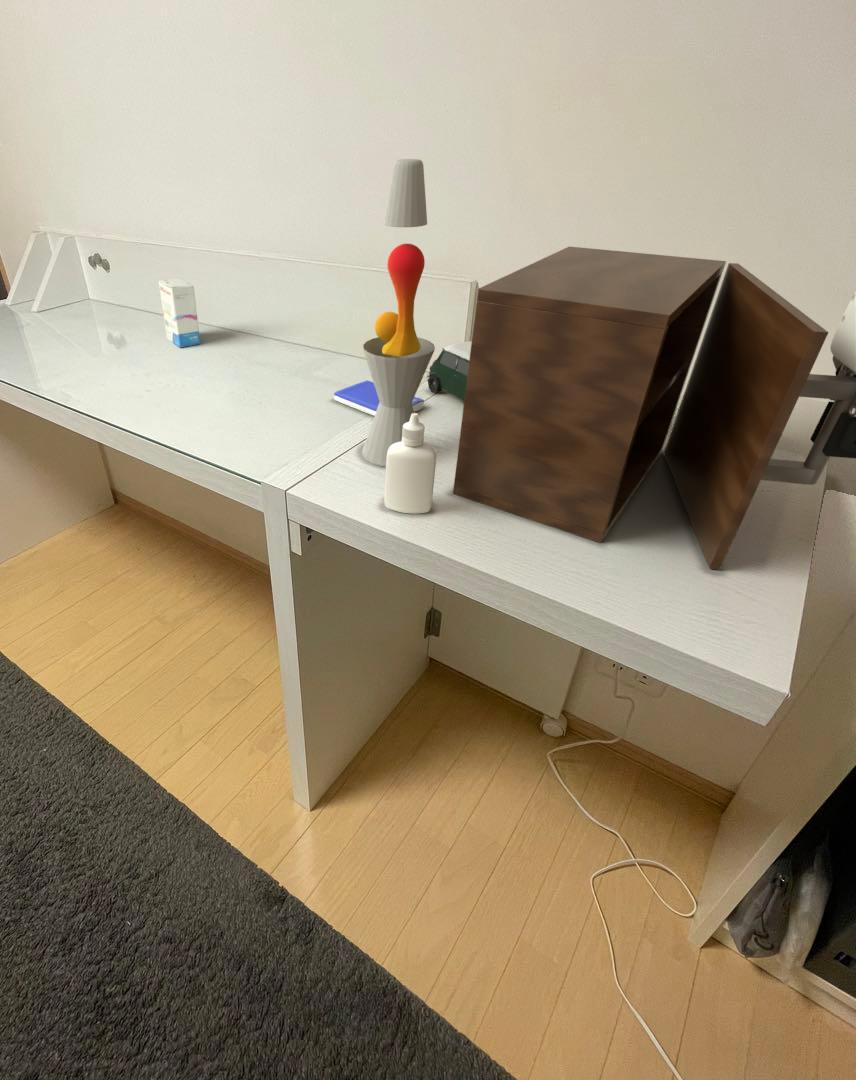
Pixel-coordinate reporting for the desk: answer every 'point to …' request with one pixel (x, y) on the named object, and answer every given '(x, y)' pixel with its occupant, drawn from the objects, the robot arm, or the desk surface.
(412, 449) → the eye dropper bottle
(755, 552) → the desk surface
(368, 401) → the blue book
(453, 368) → the miniature car
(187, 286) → the ink box
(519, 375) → the cupboard
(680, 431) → the door
